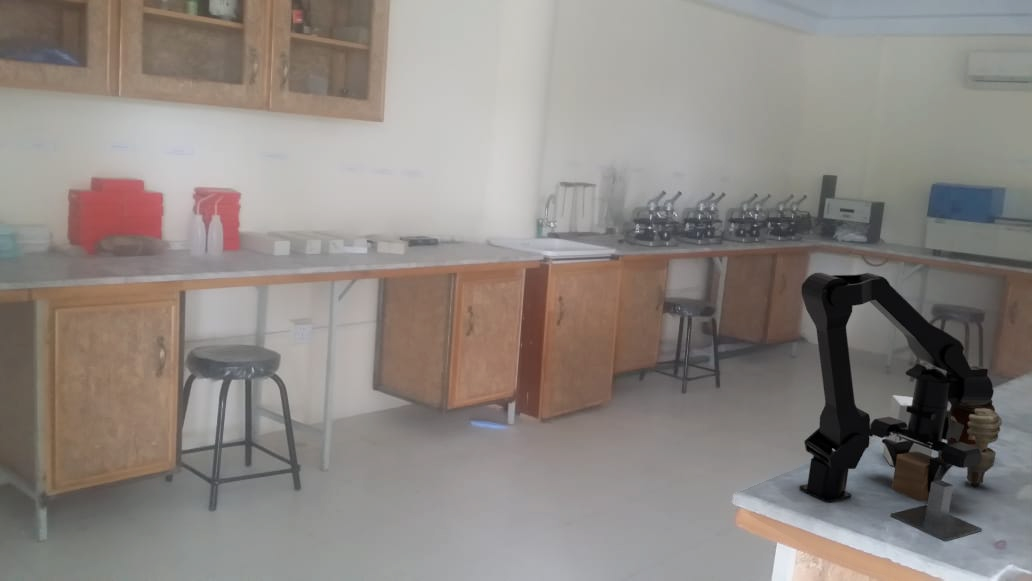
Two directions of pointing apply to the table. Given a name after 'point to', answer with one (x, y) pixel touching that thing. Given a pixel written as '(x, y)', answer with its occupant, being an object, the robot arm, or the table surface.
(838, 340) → the robot arm
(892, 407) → the supplement box
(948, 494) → the gray square base stand
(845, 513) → the table surface
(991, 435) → the light bulb
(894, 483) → the cardboard carton
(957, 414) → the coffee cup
